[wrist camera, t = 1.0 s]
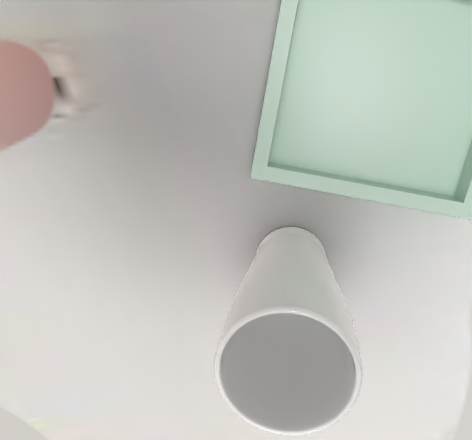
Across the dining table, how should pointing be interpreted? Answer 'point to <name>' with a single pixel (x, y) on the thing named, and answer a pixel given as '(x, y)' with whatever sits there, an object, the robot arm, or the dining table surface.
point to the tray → (372, 102)
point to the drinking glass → (289, 340)
